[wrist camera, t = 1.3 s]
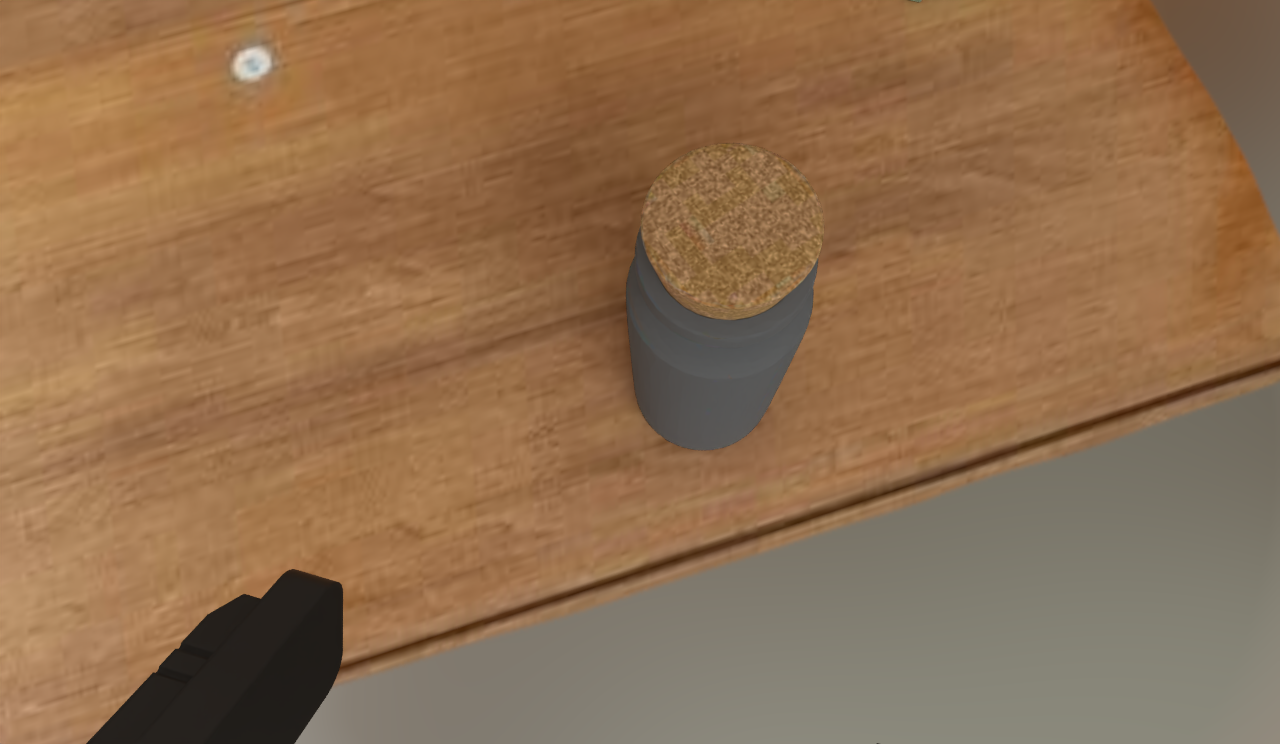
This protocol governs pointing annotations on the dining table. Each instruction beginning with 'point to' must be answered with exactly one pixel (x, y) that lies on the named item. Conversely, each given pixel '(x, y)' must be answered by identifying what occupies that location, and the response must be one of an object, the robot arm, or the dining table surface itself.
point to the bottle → (720, 290)
